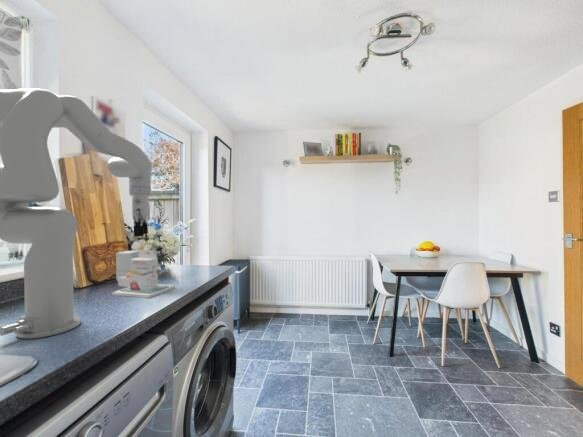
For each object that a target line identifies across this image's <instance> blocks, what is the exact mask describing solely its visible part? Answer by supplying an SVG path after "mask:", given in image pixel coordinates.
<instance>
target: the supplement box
mask: <svg viewBox="0 0 583 437" xmlns="http://www.w3.org/2000/svg"><path fill="white" fill-rule="evenodd" d="M134 258H139V254H138V250H125V251H119V252H116V253H115V262H116V263H115V265H116V266H115V267H116V268H115V270H116V271H115V272H116V273H115V274H116V281H117V282H118V278H119V277H123V276H127V273H129V272H130V259H134Z"/></svg>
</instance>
